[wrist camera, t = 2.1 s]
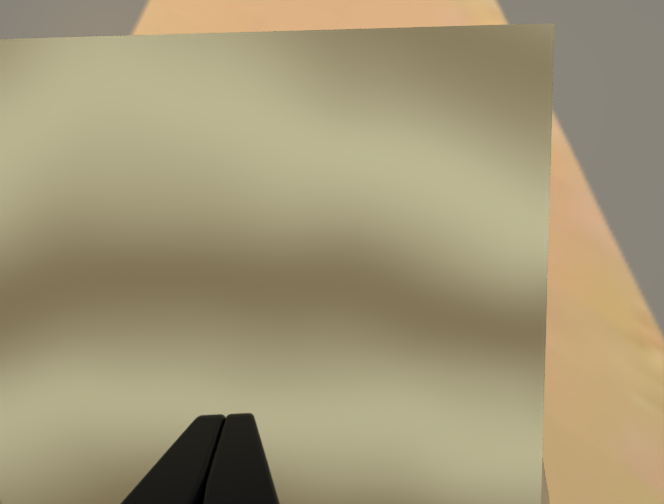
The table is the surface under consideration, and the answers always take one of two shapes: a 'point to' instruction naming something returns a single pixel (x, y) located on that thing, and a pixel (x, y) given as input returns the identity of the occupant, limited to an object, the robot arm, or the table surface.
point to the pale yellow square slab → (277, 258)
